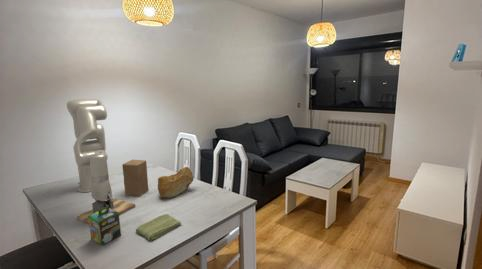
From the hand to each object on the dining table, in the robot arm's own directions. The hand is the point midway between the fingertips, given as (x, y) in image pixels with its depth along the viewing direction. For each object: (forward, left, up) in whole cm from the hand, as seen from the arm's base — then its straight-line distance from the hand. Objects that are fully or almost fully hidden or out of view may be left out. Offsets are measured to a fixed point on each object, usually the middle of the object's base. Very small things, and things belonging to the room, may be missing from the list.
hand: (104, 210), depth 131 cm
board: (0, +2, -2) cm, 3 cm away
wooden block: (-6, +27, -2) cm, 28 cm away
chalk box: (+19, -13, -3) cm, 23 cm away
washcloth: (+35, +2, -3) cm, 35 cm away
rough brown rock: (+14, +38, -3) cm, 40 cm away
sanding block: (0, 0, -1) cm, 1 cm away
